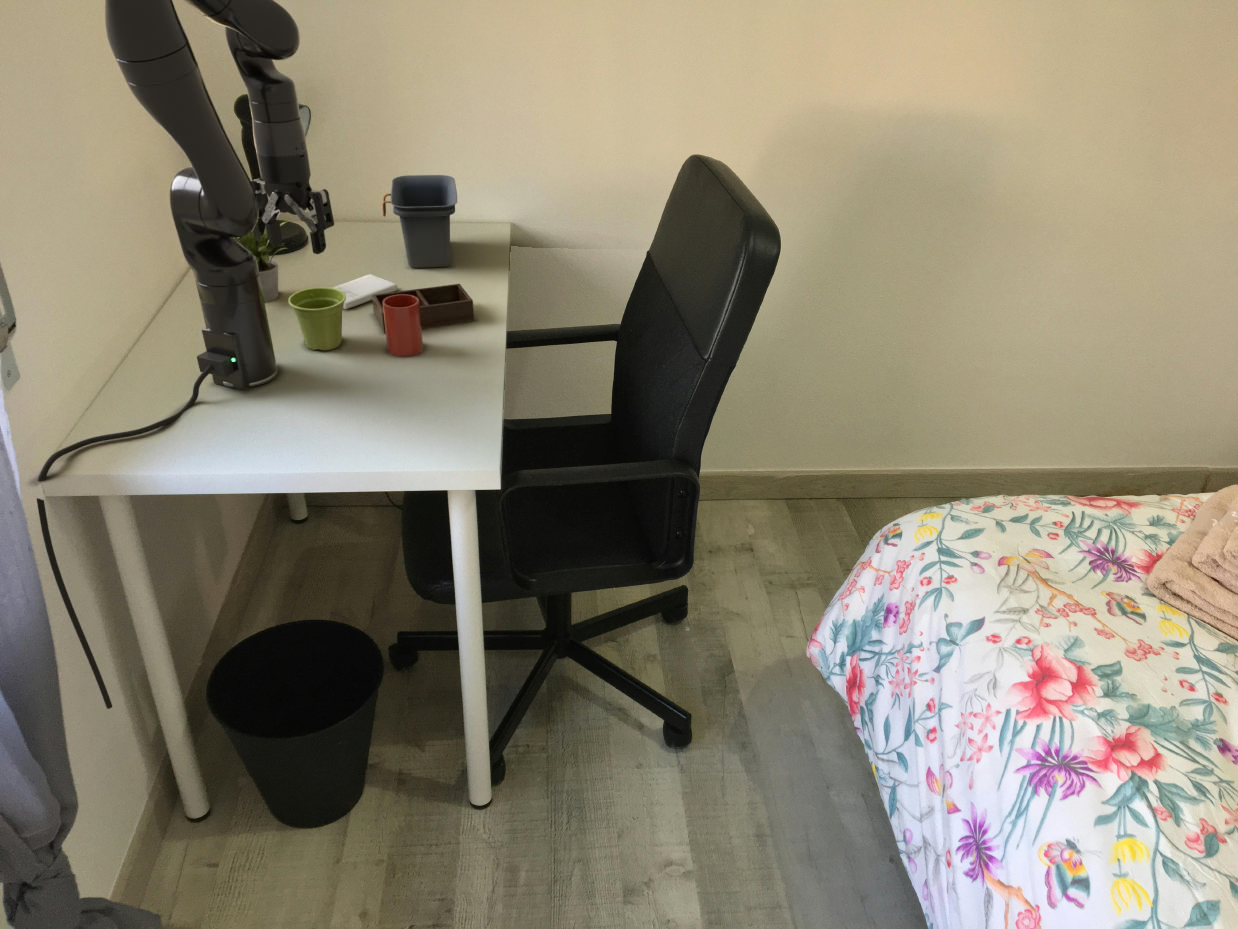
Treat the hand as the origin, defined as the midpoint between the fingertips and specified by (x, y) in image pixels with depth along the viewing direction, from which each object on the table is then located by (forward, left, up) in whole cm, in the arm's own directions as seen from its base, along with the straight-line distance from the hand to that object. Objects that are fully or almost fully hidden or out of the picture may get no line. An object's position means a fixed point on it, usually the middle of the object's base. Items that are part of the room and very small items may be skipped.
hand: (297, 248), depth 150 cm
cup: (+5, -16, -17) cm, 24 cm away
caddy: (+18, -12, -17) cm, 27 cm away
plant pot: (+1, -2, -18) cm, 18 cm away
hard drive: (+22, +5, -18) cm, 29 cm away
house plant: (+13, +22, -18) cm, 31 cm away
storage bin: (+47, +5, -18) cm, 50 cm away
